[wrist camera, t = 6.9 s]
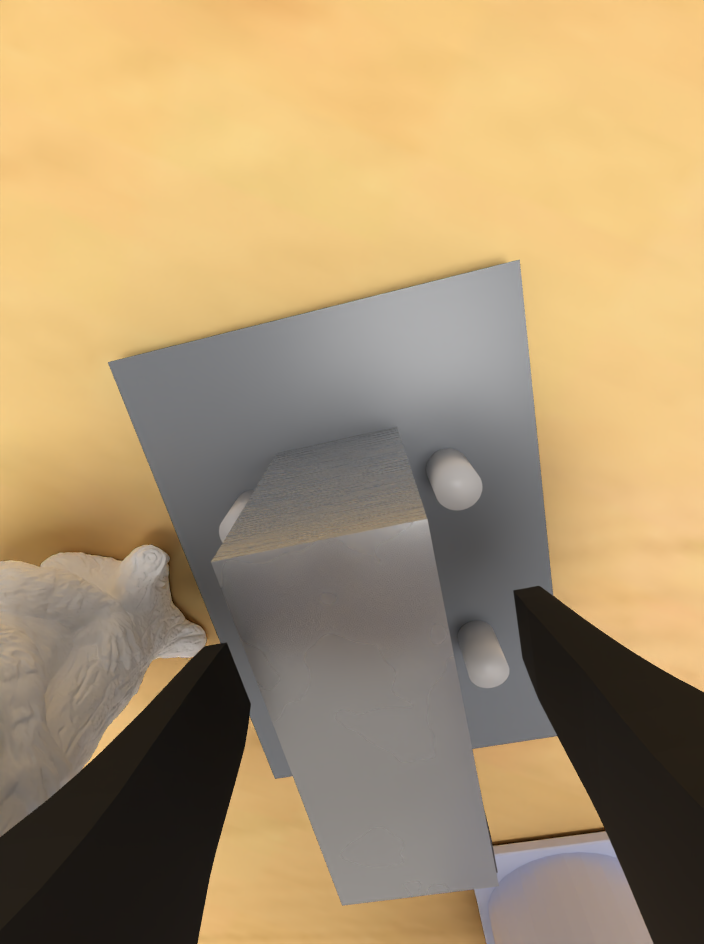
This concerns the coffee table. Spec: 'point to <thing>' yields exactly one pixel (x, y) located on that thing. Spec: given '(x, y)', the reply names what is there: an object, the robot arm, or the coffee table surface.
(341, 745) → the block
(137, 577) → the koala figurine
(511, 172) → the coffee table surface
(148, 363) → the pin tray
